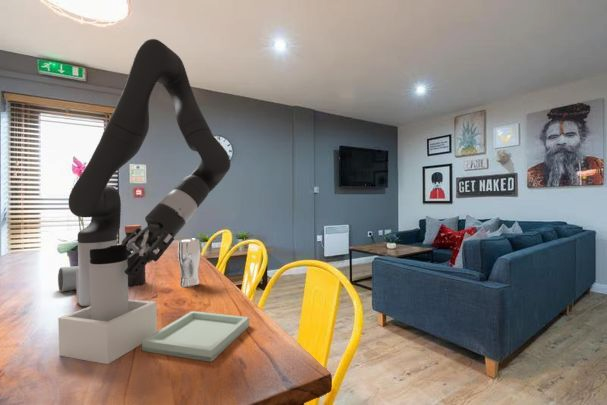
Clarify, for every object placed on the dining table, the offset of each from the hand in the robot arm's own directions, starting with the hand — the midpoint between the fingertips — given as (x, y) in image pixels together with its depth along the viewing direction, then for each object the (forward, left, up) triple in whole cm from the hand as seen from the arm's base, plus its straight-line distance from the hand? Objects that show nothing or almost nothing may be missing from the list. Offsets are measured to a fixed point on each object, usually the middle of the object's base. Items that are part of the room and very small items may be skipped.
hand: (119, 272), depth 60 cm
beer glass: (-12, +37, -14) cm, 42 cm away
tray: (+15, +5, -14) cm, 21 cm away
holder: (-1, -2, -14) cm, 14 cm away
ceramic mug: (-47, +25, -14) cm, 55 cm away
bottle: (-31, +33, -14) cm, 48 cm away
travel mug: (-1, -2, -14) cm, 14 cm away
